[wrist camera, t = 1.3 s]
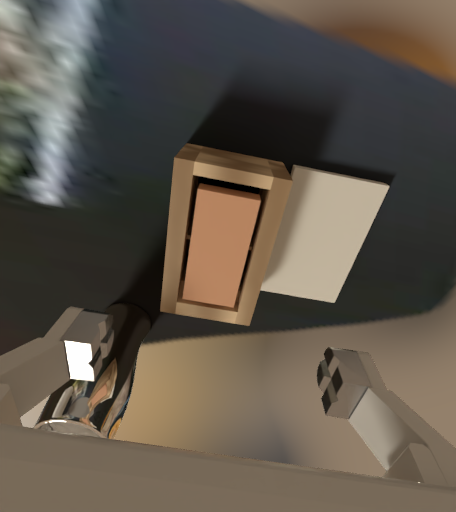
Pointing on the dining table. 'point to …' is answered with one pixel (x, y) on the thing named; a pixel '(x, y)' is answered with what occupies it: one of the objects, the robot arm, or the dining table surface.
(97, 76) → the dining table surface
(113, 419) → the beer glass
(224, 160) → the pocket block
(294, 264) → the mat
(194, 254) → the tile
